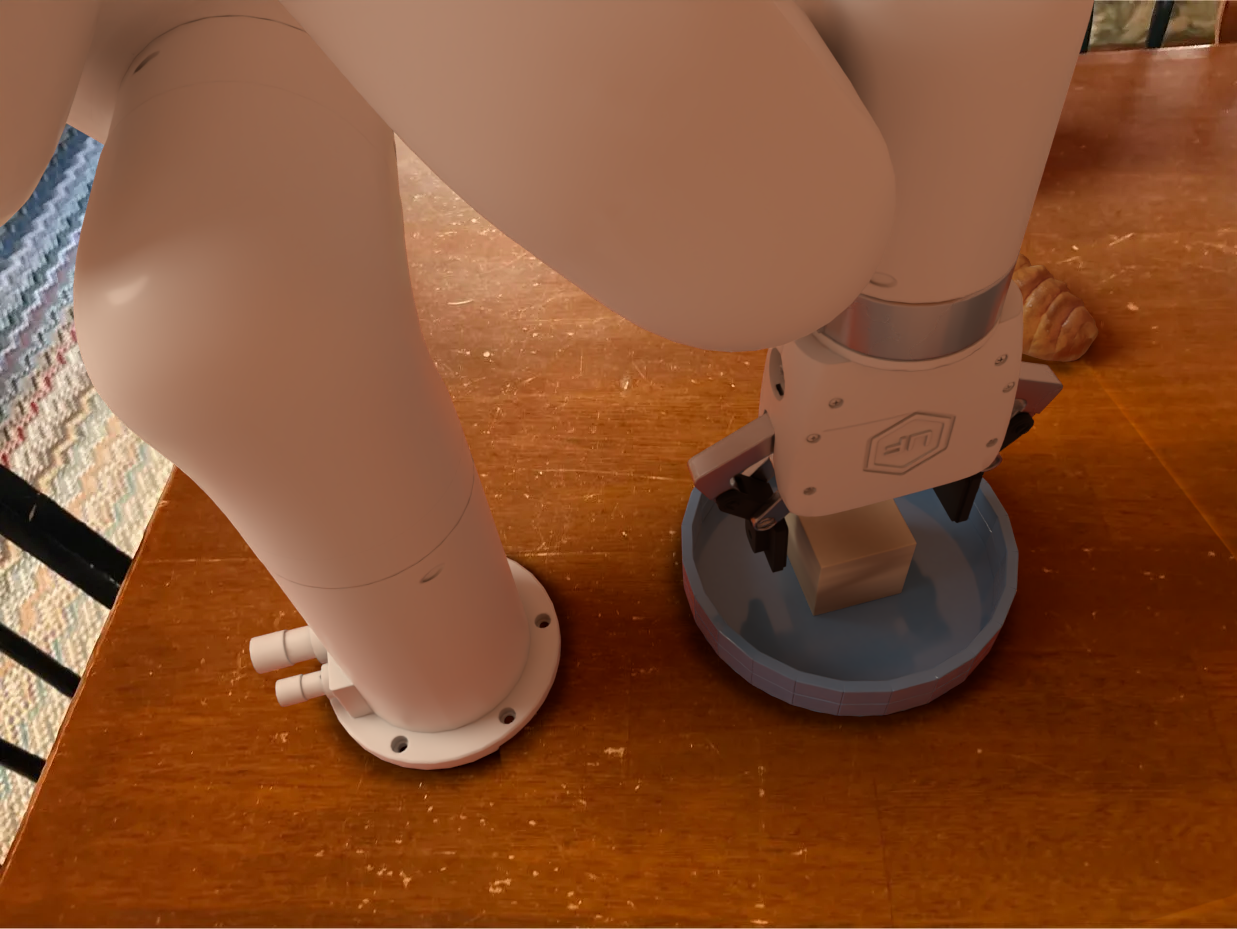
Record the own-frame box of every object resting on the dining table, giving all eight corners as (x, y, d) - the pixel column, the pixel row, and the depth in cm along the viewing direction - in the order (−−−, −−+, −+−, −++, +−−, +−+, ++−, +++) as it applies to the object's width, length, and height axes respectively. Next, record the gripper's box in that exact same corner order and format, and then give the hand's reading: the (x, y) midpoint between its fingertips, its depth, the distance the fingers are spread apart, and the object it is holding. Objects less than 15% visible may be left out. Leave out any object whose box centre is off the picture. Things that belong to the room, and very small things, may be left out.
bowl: (739, 759, 46) (740, 733, 43) (649, 489, 57) (646, 453, 54) (1063, 670, 47) (1085, 639, 45) (918, 422, 58) (928, 384, 55)
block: (812, 616, 50) (821, 568, 46) (780, 540, 53) (786, 489, 49) (901, 593, 50) (917, 543, 46) (864, 519, 53) (876, 466, 49)
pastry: (1110, 330, 61) (1130, 286, 58) (1055, 389, 59) (1073, 347, 56) (983, 268, 66) (995, 225, 63) (926, 321, 63) (936, 278, 60)
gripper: (709, 401, 32) (719, 631, 46) (1179, 280, 33) (1052, 540, 47) (652, 263, 37) (677, 509, 50) (1067, 161, 38) (981, 429, 51)
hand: (858, 524), depth 48 cm, fingers open, 9 cm apart
